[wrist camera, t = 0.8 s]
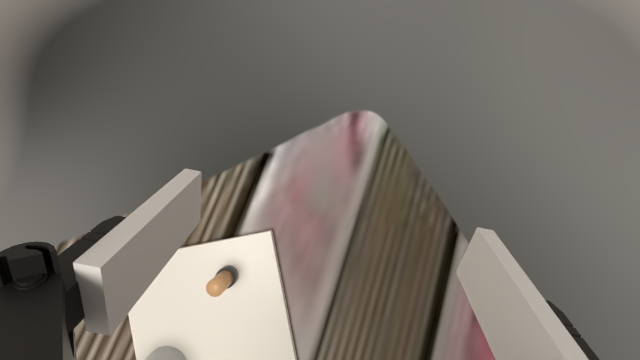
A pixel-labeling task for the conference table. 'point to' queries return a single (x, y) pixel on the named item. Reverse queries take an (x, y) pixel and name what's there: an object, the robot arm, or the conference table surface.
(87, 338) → the conference table surface
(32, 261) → the robot arm
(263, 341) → the plate
